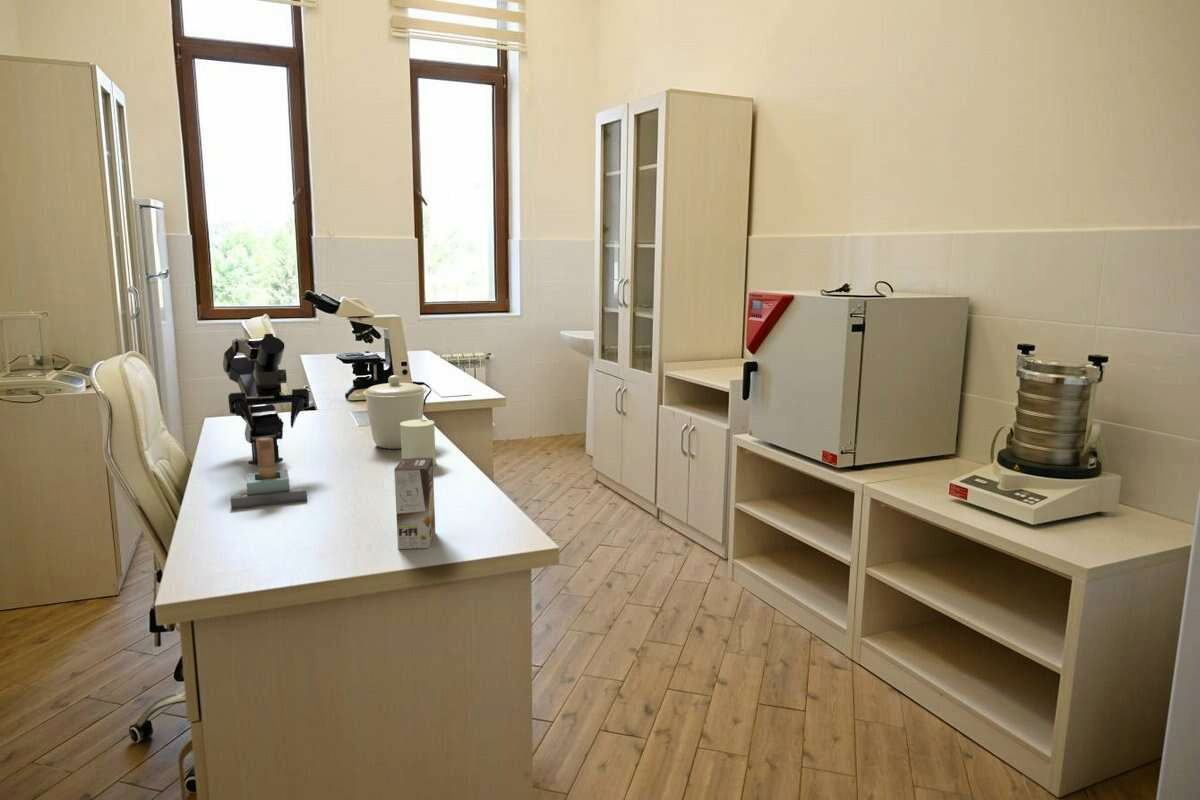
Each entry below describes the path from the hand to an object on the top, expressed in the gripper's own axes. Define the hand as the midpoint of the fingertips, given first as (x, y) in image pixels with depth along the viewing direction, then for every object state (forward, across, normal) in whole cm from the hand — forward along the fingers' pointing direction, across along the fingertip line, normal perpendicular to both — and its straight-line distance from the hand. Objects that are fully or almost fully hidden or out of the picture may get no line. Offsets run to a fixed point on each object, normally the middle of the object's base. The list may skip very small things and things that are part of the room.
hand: (272, 428), depth 198 cm
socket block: (+19, -2, 0) cm, 19 cm away
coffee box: (+50, +24, -30) cm, 63 cm away
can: (+8, +36, +11) cm, 39 cm away
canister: (-9, +34, +28) cm, 45 cm away
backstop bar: (+23, -2, -4) cm, 23 cm away
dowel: (+18, -2, -1) cm, 19 cm away
